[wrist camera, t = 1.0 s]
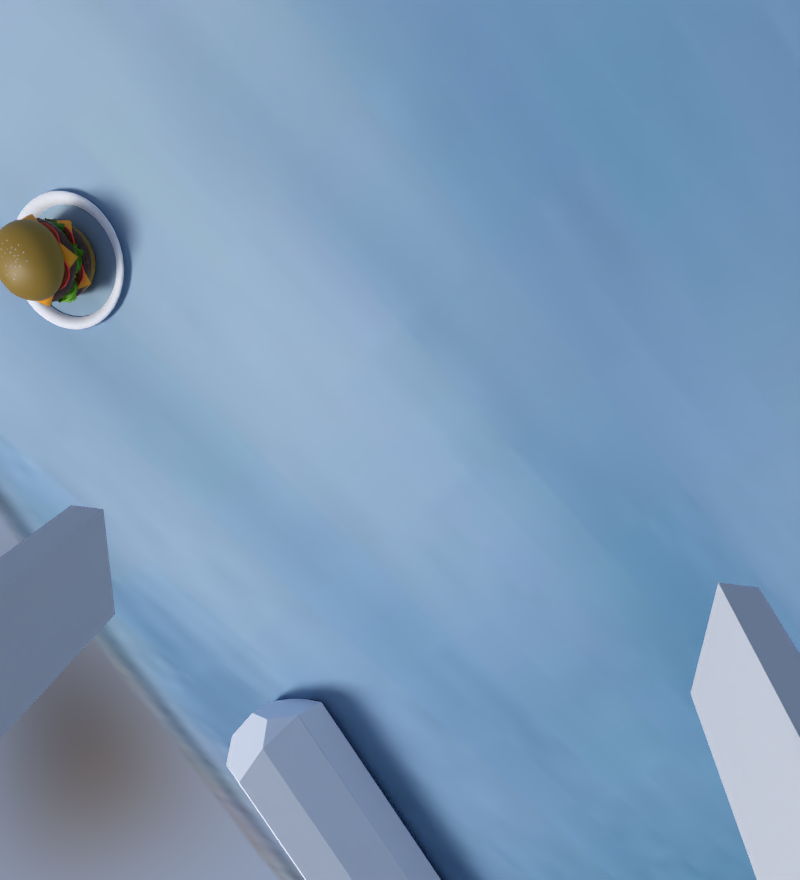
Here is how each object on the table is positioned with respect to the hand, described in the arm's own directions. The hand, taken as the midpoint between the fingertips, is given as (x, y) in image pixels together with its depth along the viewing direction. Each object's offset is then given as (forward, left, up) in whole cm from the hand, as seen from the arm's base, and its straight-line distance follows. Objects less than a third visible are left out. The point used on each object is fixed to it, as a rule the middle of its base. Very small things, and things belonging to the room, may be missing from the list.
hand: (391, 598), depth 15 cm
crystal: (+33, +13, -27) cm, 45 cm away
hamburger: (+14, -28, -27) cm, 42 cm away
